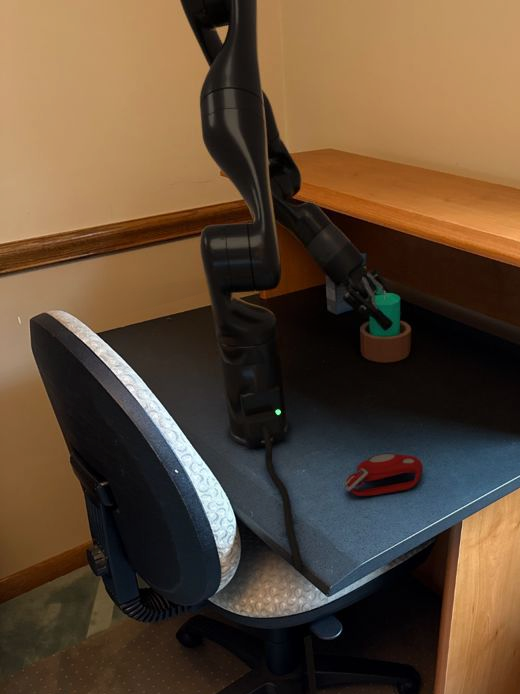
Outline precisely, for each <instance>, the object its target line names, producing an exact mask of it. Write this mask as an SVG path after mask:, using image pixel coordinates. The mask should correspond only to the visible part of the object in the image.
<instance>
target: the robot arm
mask: <svg viewBox="0 0 520 694" xmlns="http://www.w3.org/2000/svg"><path fill="white" fill-rule="evenodd" d="M179 1H180V5H181V7H182V10H183V13H184V15H185V18H186V19H187V22H188V25H189V27H190V28H191V31H192V33H193V35H194V37H195V39H196V42H197V44H198V46H199V48H200V50H201V52H202V54H203V57H204V59H205V61H206V63H207V65H208V67H209V69H208V72H207V73H206V76H205V78H204V81H203V82H202V85H201V89H200V92H199V93H200V95H199V114H200V123H201V124H200V126H201V136H202V141H203V145H204V146H205V148H206V151H207V153H208V154H209V156H210V157H211V159H212V160H213V161H214V163H215V164H216V166H217V167H218V168H219V169H220V170H221V172H222V173H223V174H224V175H225V176H226V177H227V179H228V180H229V181H230V182H231V183H232V185H233V186H234V187H235V189H236V190H237V192H238V193H239V195H240V196H241V198H242V199H243V201H244V203H245V204H246V206H247V208H248V211H249V213H250V216H251V218H252V220H253V222H244V223H243V222H241V223H240V222H239V223H238V222H237V223H224V224H223V223H222V224H221V223H220V224H212V225H206V226H204V228H203V229H202V231H201V233H200V239H199V247H200V249H199V250H200V257H201V263H202V269H203V273H204V277H205V282H206V286H207V291H208V295H209V300H210V301H209V302H210V304H211V312H212V318H213V325H214V331H215V338H216V346H217V352H218V358H219V365H220V371H221V378H222V383H223V388H224V389H223V390H224V397H225V403H226V409H227V415H228V420H229V422H228V423H229V432H230V436H231V439H232V440H233V441H234V442H235V443H238V444H240V445H243V446H246V447H247V448H248V449H249V450H251V449H255V448H259V447H263V446H265V447H264V448H265V456H264V457H265V459H264V460H265V466H266V470H267V473H268V475H269V477H270V478H271V480H272V482H273V484H274V485H275V487H276V488H277V489H278V491H279V494H280V497H281V500H282V505H283V515H284V516H283V517H284V525H285V530H286V531H285V532H286V536H287V541H288V544H289V547H290V551H291V557H292V562H293V568H294V569H295V570H296V571H300V570H302V569H303V563H302V559H301V553H300V549H299V544H298V542H297V541H298V540H297V537H296V534H295V530H294V524H293V517H292V508H291V501H290V496H289V493H288V489H287V488H286V485H284V483H283V482H282V480H281V478H279V476H278V475H277V473H276V470H275V467H274V463H273V444H276V443H280V442H284V441H286V436H287V433H288V429H289V427H288V420H287V416H286V415H287V413H286V405H285V396H284V395H285V394H284V386H283V385H284V384H283V374H282V364H281V363H282V362H281V354H280V343H279V334H278V333H279V332H278V324H277V318H276V316H275V314H274V313H273V312H272V311H271V310H270V309H268V308H267V307H263V306H260V305H258V304H253V303H251V302H248V301H245V300H244V299H241V298H240V297H238V296H237V295H235V294H236V293H237V294H238V293H253V292H265V291H272V290H275V289H276V288H277V287H279V285H280V282H281V278H282V258H281V256H282V255H281V248H280V242H279V235H278V228H277V224H278V225H279V226H281V227H282V228H284V229H285V230H287V231H288V232H289V233H290V234H292V236H293V237H294V238H295V239H296V240H297V241H298V243H300V244H301V246H302V248H304V249H305V250H306V252H307V253H308V255H309V256H310V259H312V260H313V262H315V263H316V265H317V266H318V267H319V268H320V269H321V271H322V272H323V273H324V274H325V276H326V275H327V276H328V277H329V278H330V279H331V281H332V282H333V283H334V284H335V285H336V286H339V285H340V284H343V285H344V287H345V289H346V290H347V293H346V294H345V295H344V296H343V300H344V301H345V302H346V303H347V304H349V305H350V306H351V307H352V308H353V310H354V311H355V312H356V313H358V314H359V315H360V316H361V317H362V318H364V319H366V318H367V317H373V318H374V319H375V320H376V322H377V323H378V324H379V325H380V326H381V327H382V328H383V329H384V330H387V329H388V328H390V327H391V326H392V325H393V322H392V321H391V319H390V318H388V317H387V316H386V315H384V314H383V313H382V311H381V310H380V309H379V306H377V305H376V304H375V303H377V302H376V301H375V295H384V291H385V293H392V290H391V288H390V287H389V285H388V284H387V282H386V281H385V279H384V277H383V275H382V274H381V272H379V270H378V269H377V268H376V267H374V268H373V269H371V270H368V269H367V268H366V269H365V268H364V267H363V266H362V263H363V262H364V261H365V258H364V257H363V256H362V254H363V253H361V251H359V250H358V248H357V247H356V246H355V245H354V244H353V243H352V242H351V240H350V239H349V238H348V237H347V236H346V235H345V233H344V232H342V230H341V229H340V228H338V226H336V225H335V224H334V223H333V222H332V220H331V219H330V218H329V216H327V214H325V213H324V211H323V210H322V209H321V208H320V207H319V206H318V205H317V204H316V203H315V204H316V205H315V204H313V203H310V202H311V201H306V202H304V203H302V204H298V205H295V204H292V203H290V202H289V201H290V200H291V199H292V198H294V197H295V196H296V195H297V194H298V193H299V192H300V191H301V188H302V184H303V183H302V181H303V178H302V173H301V171H300V168H299V166H298V165H297V163H296V161H295V159H294V158H293V157H292V155H291V153H290V152H289V150H288V147H287V146H286V144H285V143H284V141H283V139H282V137H281V134H280V130H279V126H278V124H277V120H276V116H275V112H274V108H273V107H272V103H271V102H270V99H269V97H268V95H267V93H266V92H265V91H264V89H263V86H262V79H261V70H260V61H259V38H258V37H259V36H258V33H259V32H258V0H179ZM223 27H227V31H226V35H225V37H224V41H222V39H221V37H220V35H219V33H218V30H217V29H219V28H223ZM385 296H386V295H385ZM370 303H371V304H372V305H371V304H370ZM402 314H403V312H402V311H401V310H400V317H401V316H402ZM303 643H304V652H305V660H306V669H307V679H308V688H309V689H308V690H309V694H318V689H317V680H316V670H315V669H316V668H315V660H314V652H313V651H314V649H313V641H312V634H309V635H307V636H304V637H303Z"/></svg>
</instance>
